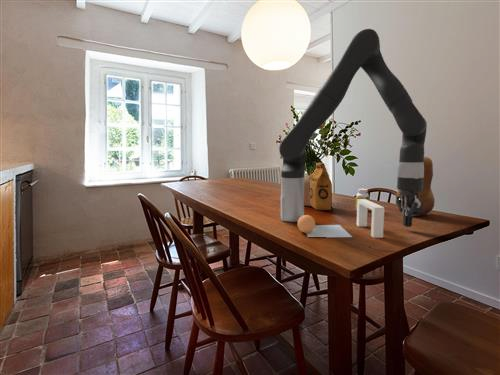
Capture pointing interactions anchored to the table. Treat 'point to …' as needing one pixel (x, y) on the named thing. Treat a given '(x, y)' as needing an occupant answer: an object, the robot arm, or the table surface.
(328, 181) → the coffee package
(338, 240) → the table surface
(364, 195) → the supplement bottle
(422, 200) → the butternut squash
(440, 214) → the table surface
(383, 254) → the table surface
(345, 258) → the table surface
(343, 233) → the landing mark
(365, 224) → the bridge
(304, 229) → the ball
